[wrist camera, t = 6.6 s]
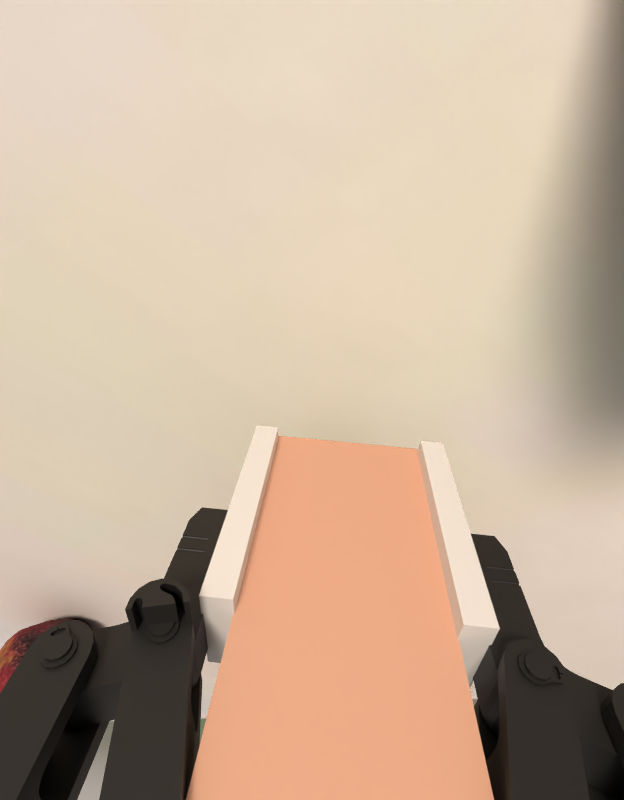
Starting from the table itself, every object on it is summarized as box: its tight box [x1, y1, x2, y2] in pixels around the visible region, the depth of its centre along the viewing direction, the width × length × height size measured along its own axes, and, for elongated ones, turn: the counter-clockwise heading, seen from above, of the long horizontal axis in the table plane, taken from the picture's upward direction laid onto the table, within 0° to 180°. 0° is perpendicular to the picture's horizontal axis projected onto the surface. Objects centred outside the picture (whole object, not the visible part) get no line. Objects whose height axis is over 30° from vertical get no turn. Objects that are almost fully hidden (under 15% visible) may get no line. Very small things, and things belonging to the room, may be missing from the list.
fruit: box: [0, 619, 90, 693], centre depth 32 cm, size 8×8×8 cm
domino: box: [186, 436, 494, 800], centre depth 11 cm, size 2×5×10 cm, turn 87°
